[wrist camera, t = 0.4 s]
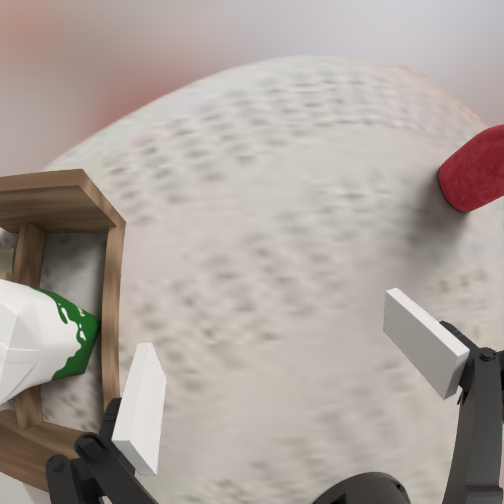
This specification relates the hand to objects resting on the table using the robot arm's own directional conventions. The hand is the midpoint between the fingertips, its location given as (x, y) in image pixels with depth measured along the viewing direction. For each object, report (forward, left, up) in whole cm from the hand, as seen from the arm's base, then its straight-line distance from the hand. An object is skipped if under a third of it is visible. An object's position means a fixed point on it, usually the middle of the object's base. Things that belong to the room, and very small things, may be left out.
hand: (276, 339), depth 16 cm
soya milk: (-2, +21, -19) cm, 29 cm away
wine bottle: (+21, -36, -19) cm, 46 cm away
